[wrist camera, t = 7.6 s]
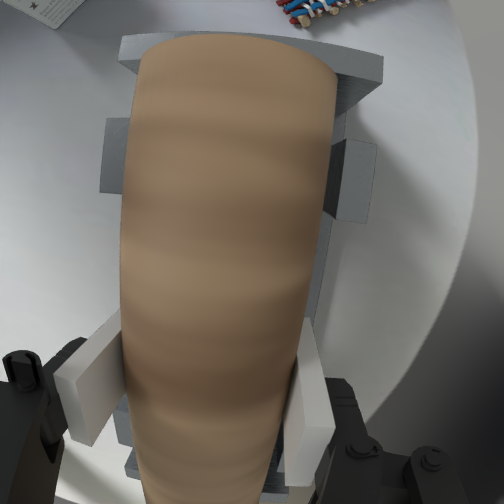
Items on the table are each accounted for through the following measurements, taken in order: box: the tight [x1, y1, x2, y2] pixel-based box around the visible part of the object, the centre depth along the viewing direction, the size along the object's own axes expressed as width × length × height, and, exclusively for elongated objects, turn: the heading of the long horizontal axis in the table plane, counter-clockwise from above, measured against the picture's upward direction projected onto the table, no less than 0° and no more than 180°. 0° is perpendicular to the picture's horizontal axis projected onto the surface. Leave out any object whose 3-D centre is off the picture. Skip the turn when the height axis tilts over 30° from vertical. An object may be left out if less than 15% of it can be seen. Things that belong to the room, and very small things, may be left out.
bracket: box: [100, 31, 384, 503], centre depth 17 cm, size 26×11×8 cm, turn 173°
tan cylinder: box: [120, 34, 338, 504], centre depth 11 cm, size 20×6×6 cm, turn 173°
